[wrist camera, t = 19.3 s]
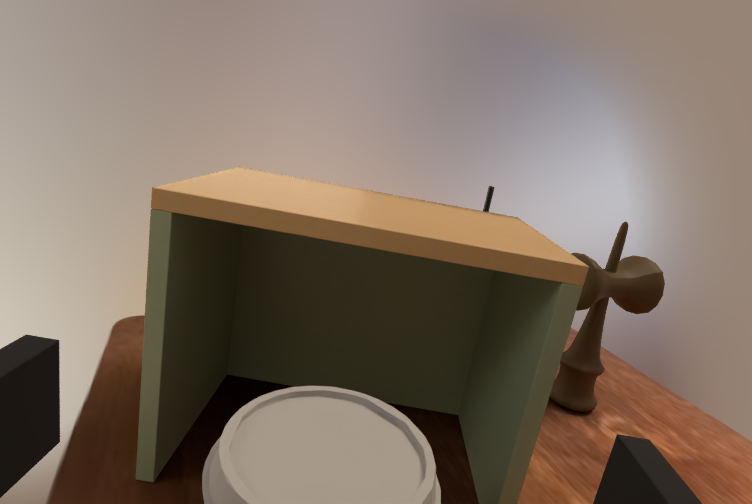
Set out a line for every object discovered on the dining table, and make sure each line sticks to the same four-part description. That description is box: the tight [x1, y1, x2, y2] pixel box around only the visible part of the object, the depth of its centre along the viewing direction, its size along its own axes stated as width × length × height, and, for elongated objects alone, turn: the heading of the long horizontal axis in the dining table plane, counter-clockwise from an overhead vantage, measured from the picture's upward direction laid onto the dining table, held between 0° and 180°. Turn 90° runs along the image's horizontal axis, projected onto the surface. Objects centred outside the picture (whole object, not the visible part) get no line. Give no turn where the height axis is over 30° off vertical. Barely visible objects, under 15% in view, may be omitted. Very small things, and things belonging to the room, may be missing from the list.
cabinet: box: [136, 167, 589, 504], centre depth 36 cm, size 15×24×19 cm, turn 88°
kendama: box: [550, 222, 665, 412], centre depth 48 cm, size 6×10×20 cm, turn 112°
